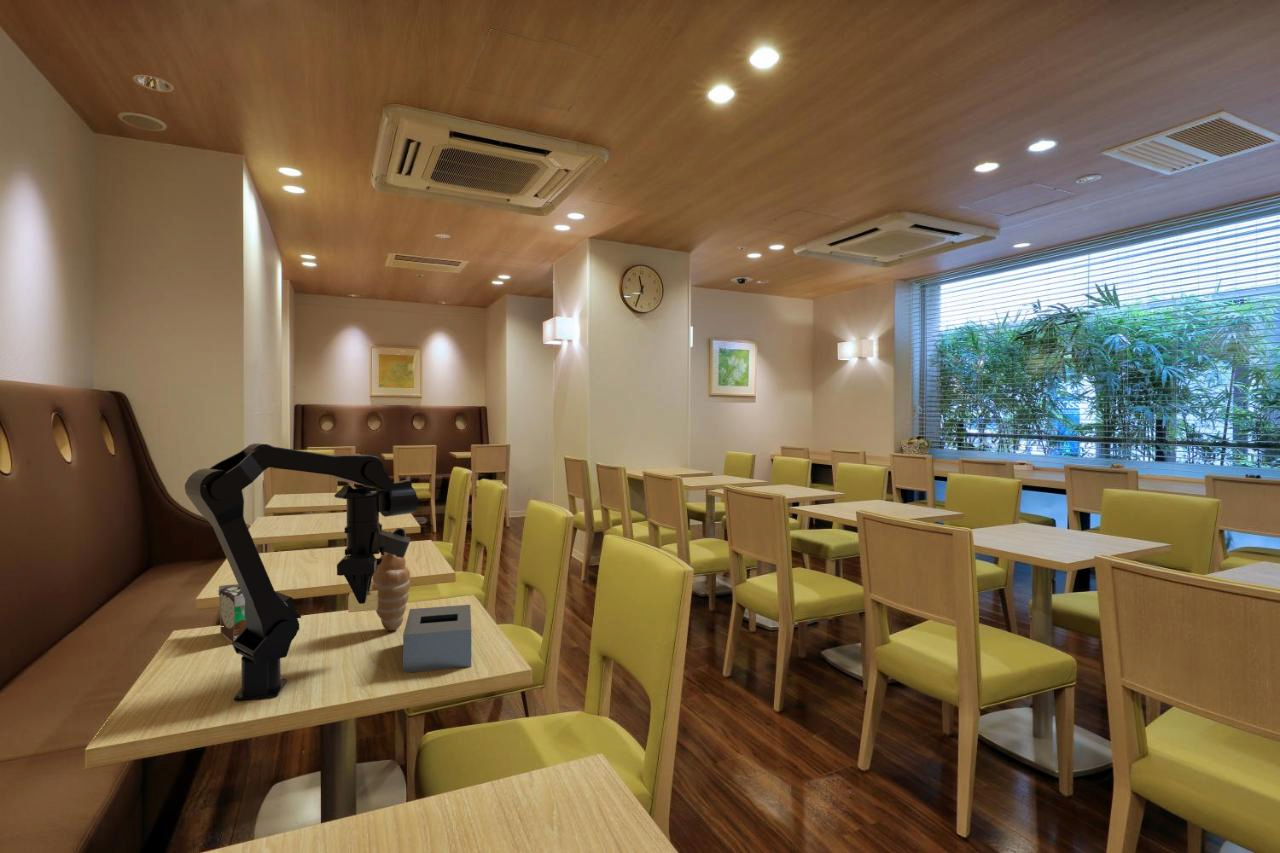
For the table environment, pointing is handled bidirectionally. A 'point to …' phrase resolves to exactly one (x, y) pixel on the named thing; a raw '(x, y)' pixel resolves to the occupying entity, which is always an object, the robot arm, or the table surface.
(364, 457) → the robot arm
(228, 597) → the food container
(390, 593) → the tan ribbed tall piece
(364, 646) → the table surface
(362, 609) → the tan brushed block
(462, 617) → the box
